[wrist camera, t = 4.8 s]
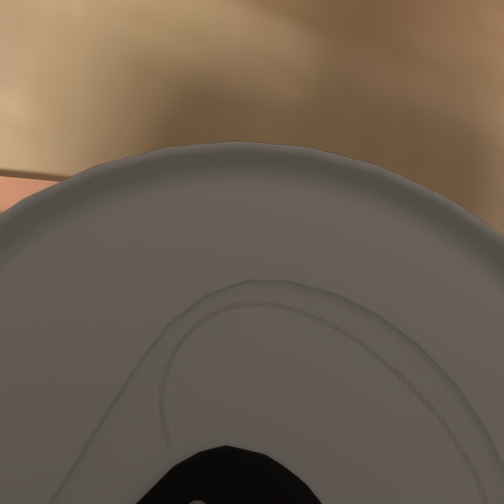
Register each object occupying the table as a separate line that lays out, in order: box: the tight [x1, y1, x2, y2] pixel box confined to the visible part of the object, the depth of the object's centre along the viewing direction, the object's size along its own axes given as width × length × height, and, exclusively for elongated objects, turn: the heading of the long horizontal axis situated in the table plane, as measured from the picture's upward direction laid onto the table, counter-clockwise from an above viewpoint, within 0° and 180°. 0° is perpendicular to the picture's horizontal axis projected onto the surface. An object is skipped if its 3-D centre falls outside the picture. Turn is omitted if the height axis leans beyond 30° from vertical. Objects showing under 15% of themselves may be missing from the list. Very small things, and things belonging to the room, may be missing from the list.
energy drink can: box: [0, 141, 504, 504], centre depth 9 cm, size 6×6×15 cm
